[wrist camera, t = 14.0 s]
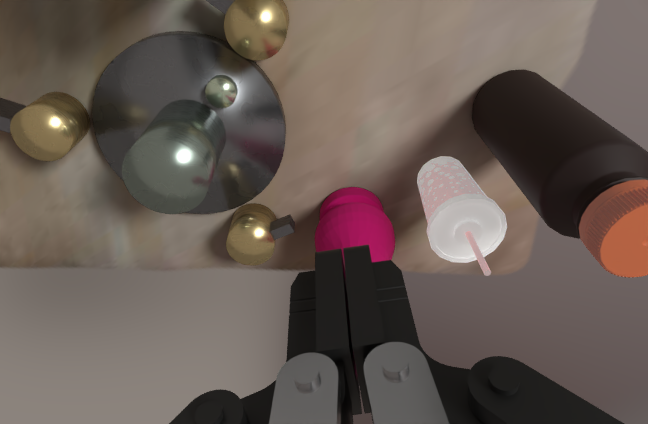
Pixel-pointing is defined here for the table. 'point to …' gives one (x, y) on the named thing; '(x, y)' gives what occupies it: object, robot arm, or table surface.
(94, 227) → the table surface
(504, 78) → the bottle
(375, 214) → the pepper mill
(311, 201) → the table surface
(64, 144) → the brass head mallet
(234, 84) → the base
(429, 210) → the beverage cup
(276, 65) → the table surface
